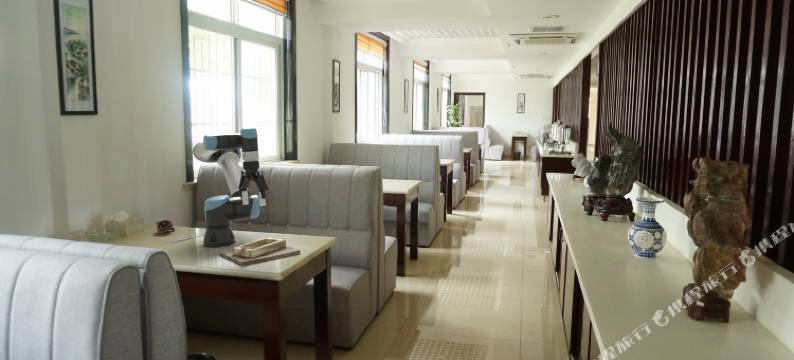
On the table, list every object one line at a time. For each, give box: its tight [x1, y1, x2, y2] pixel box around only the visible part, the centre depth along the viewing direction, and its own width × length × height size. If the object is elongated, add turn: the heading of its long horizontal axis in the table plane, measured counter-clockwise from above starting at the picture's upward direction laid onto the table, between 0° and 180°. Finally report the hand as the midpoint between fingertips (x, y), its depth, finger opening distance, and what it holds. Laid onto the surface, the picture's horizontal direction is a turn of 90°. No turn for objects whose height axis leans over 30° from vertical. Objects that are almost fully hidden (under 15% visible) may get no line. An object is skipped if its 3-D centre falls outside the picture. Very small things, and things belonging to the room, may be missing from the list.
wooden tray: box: [231, 236, 287, 258], centre depth 251 cm, size 12×22×3 cm, turn 151°
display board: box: [218, 244, 301, 267], centre depth 251 cm, size 24×28×2 cm
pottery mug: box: [155, 219, 176, 236], centre depth 298 cm, size 12×10×8 cm
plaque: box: [172, 232, 205, 244], centre depth 286 cm, size 33×10×1 cm, turn 148°
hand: (254, 205), depth 262 cm, fingers open, 13 cm apart
